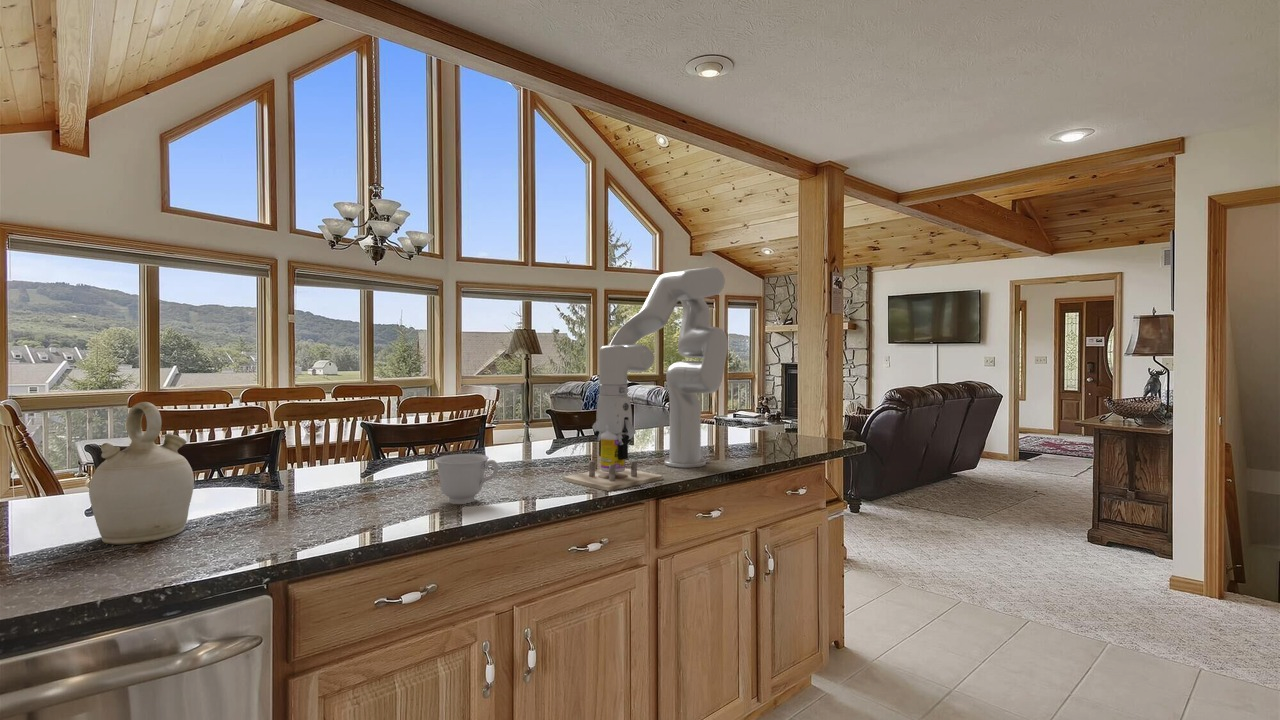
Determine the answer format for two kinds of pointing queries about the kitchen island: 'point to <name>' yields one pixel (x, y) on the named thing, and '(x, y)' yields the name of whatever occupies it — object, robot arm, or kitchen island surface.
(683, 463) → the robot arm
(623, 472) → the holder
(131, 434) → the jug
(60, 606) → the kitchen island surface
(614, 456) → the supplement bottle
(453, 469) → the teacup
